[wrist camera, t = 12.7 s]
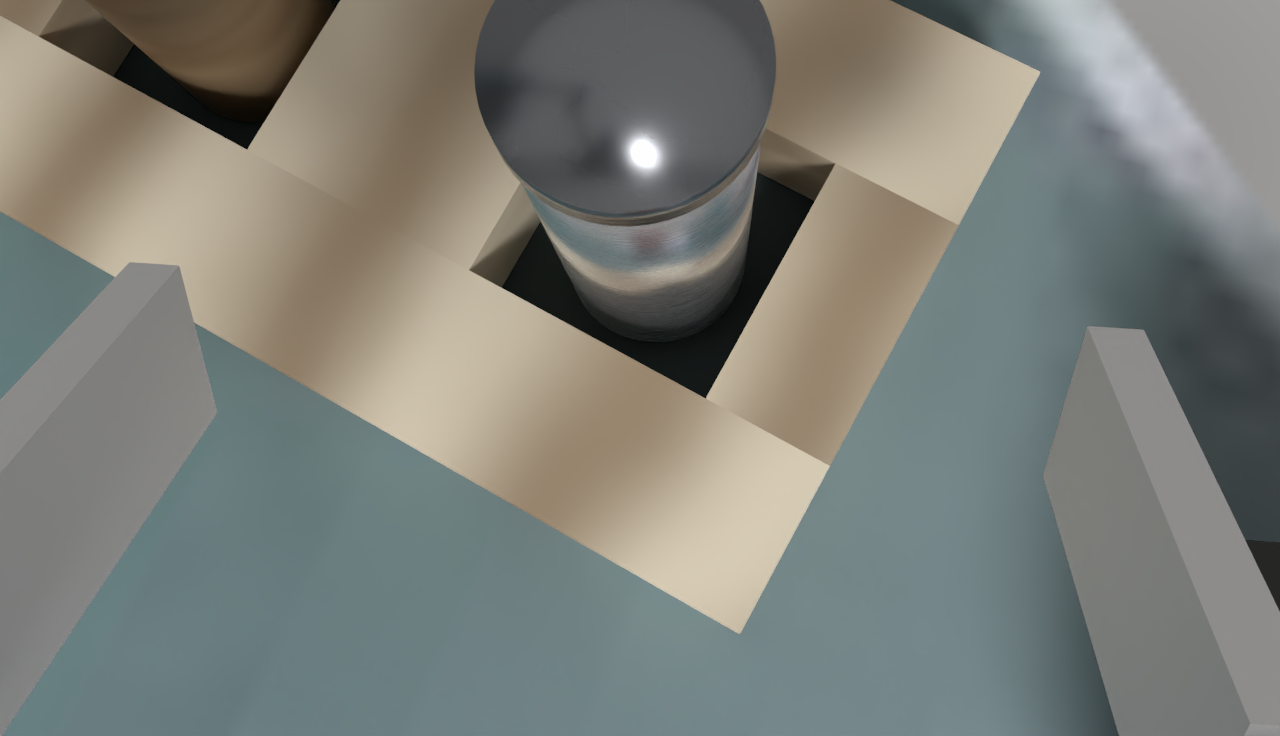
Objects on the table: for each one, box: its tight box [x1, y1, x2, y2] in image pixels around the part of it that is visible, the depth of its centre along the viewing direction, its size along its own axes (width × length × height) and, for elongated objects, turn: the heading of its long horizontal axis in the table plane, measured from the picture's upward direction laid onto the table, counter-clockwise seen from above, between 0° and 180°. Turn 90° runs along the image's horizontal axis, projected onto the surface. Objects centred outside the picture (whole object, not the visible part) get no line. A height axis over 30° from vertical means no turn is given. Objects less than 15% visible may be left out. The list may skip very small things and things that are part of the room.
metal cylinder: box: [474, 0, 776, 343], centre depth 22 cm, size 5×5×11 cm
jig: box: [0, 0, 1040, 634], centre depth 26 cm, size 24×14×6 cm, turn 61°
